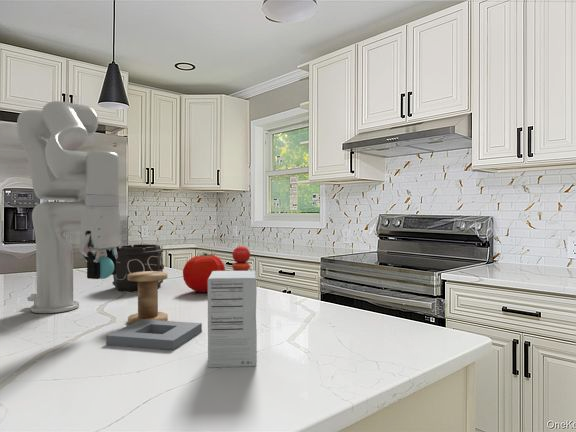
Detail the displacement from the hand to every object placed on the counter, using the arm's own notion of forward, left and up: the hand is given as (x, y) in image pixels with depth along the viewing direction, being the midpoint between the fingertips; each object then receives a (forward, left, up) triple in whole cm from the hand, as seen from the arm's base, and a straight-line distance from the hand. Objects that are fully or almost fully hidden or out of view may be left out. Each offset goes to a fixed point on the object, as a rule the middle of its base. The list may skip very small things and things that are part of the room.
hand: (102, 275), depth 106 cm
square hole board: (+17, -3, -13) cm, 21 cm away
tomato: (+5, +50, -13) cm, 52 cm away
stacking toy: (+27, +26, -13) cm, 39 cm away
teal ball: (0, 0, -1) cm, 1 cm away
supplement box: (+39, -12, -13) cm, 43 cm away
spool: (+7, +10, -13) cm, 18 cm away
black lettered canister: (-22, +52, -13) cm, 58 cm away
